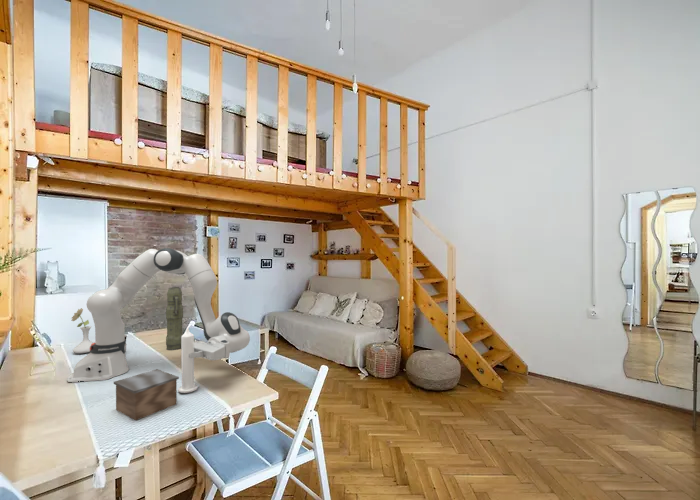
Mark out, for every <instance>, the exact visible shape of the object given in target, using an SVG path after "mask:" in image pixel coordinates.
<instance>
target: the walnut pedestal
mask: <svg viewBox="0 0 700 500" xmlns="http://www.w3.org/2000/svg"><path fill="white" fill-rule="evenodd" d="M179 379H180V378H179V376H177V375H174V374H173V373H169V372H167V371H164V370H161V369H158V368H156V369H153V370H148V371H146V372H142V373H138V374H135V375H132V376H128V377H125V378H121V379H119V380H115V381H113V385H115V410H116V411H118V412H119V413H121V414H123V415H125V416H127V417H128V418H130V419H132V420H134V421H138V420H140V419H143V418H145V417H147V416H150V415H153V414H156V413H158V412H160V411H163V410H166V409H168V408H170V407H171V408H172V406H176V405H177V404H178V403H177V400H178V399H177V398H178V396H177V393H178V392H177V391H178V389H177V385H178V384H177V382H178V381H177V380H179Z"/></svg>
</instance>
